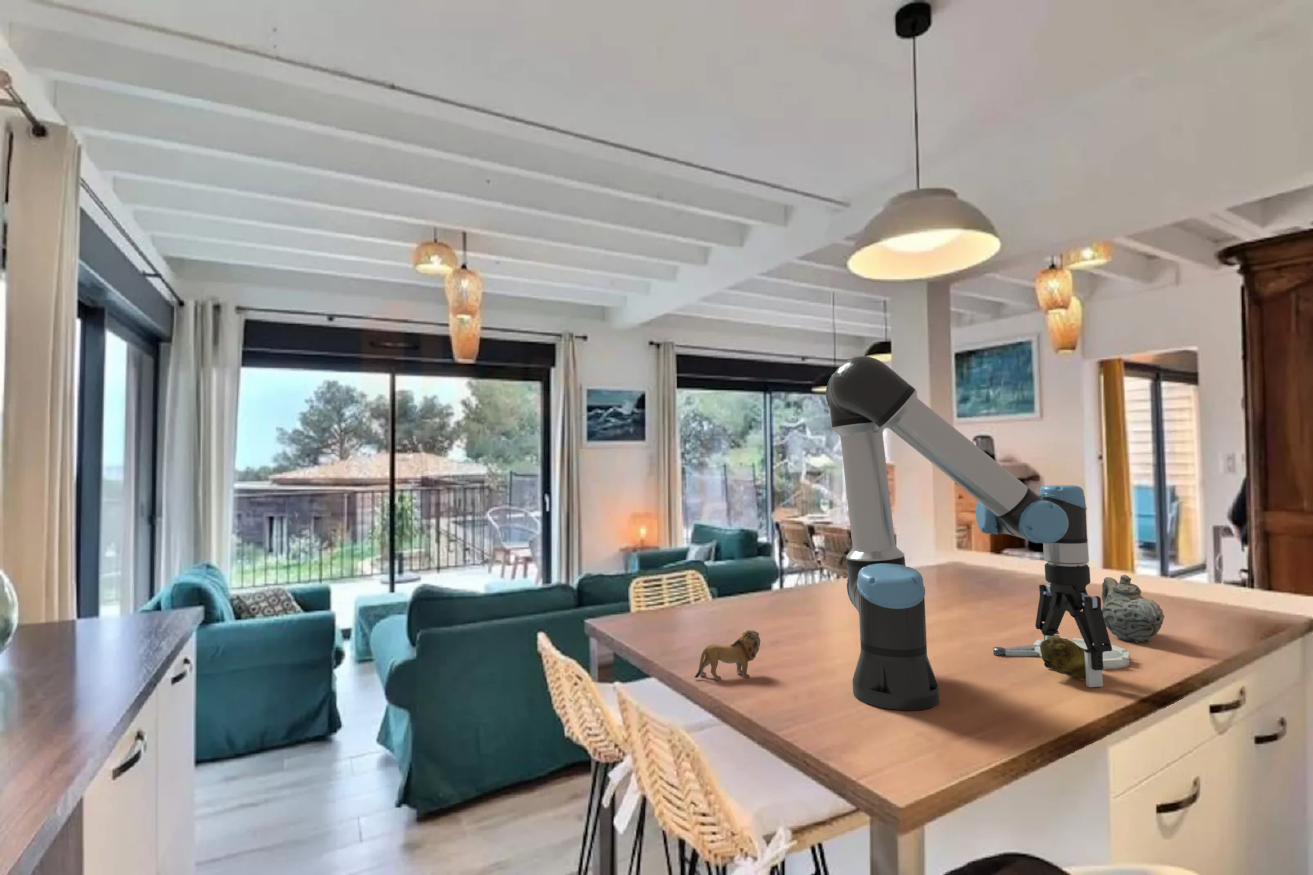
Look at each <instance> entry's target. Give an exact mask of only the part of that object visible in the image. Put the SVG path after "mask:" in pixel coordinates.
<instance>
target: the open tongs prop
mask: <svg viewBox="0 0 1313 875" xmlns="http://www.w3.org/2000/svg"><path fill="white" fill-rule="evenodd" d="M1042 642H1043V641H1042ZM992 651H993V656H996V657H1039V653H1038V652H1037V651H1035V649H1033V644H1028V645H1021V646H1014V647H1013V646H1012V647H1001V646H994V647H992Z"/></svg>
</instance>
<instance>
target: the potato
mask: <svg viewBox="0 0 1313 875" xmlns="http://www.w3.org/2000/svg"><path fill="white" fill-rule="evenodd" d="M1065 638H1066V637H1064V638H1058V637H1054V638H1049V639H1047V640H1044V641H1043V642H1042V643H1041V646H1040V650H1041V656H1042V660H1043V662H1044V663H1043V664H1044V667H1045V668H1047V669H1048V668H1052V669H1051V670H1053V672H1054V671H1055V672H1057V673H1058V674H1062V675H1065V676H1068V677H1070V678H1073V679H1075V680H1086V670H1085V654H1084V650H1086V649H1084V648H1081V647H1079V646H1078V645H1077V644H1075V643H1074V642H1073V641H1072V640H1070V639H1065Z"/></svg>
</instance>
